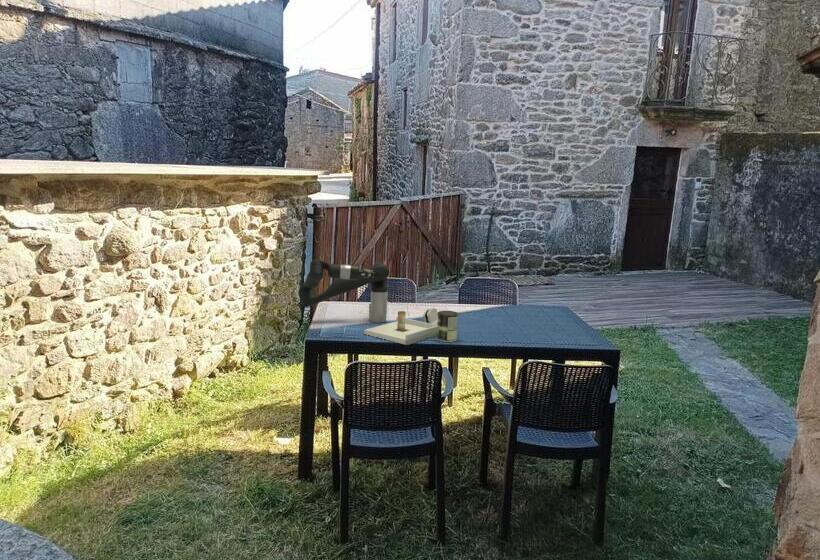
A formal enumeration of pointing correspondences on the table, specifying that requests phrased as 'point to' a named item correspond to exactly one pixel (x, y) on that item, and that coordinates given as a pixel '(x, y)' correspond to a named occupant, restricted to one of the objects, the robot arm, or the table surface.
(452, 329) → the coffee can
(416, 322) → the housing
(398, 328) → the gear shaft
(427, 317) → the hinge
